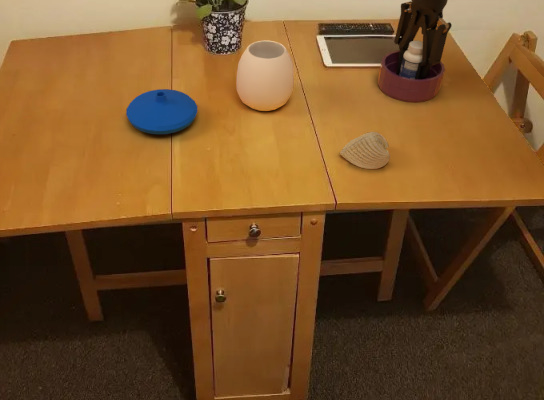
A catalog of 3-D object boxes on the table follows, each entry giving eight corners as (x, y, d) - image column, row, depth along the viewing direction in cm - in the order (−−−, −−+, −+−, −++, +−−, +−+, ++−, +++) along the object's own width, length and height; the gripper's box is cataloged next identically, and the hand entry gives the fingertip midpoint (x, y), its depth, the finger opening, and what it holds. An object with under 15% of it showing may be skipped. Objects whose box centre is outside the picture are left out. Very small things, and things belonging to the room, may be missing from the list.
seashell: (399, 164, 116) (369, 152, 112) (369, 180, 122) (340, 169, 118) (395, 129, 119) (366, 117, 115) (366, 146, 126) (338, 135, 122)
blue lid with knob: (114, 119, 131) (109, 92, 126) (169, 93, 139) (167, 67, 134) (155, 151, 122) (152, 124, 118) (212, 122, 130) (211, 96, 125)
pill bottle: (403, 73, 142) (411, 36, 136) (424, 80, 140) (433, 42, 133) (394, 83, 139) (402, 45, 133) (415, 89, 137) (425, 52, 130)
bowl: (451, 93, 139) (458, 71, 134) (404, 109, 134) (410, 87, 130) (410, 66, 148) (415, 44, 144) (365, 80, 143) (369, 58, 139)
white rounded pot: (254, 123, 130) (256, 70, 120) (225, 95, 138) (225, 43, 129) (303, 107, 134) (308, 55, 125) (272, 81, 143) (275, 30, 134)
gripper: (390, -27, 128) (372, 67, 144) (450, 5, 116) (424, 103, 132) (416, -33, 131) (396, 60, 147) (478, -3, 119) (449, 94, 135)
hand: (409, 80), depth 139 cm, fingers closed on pill bottle, 5 cm apart
